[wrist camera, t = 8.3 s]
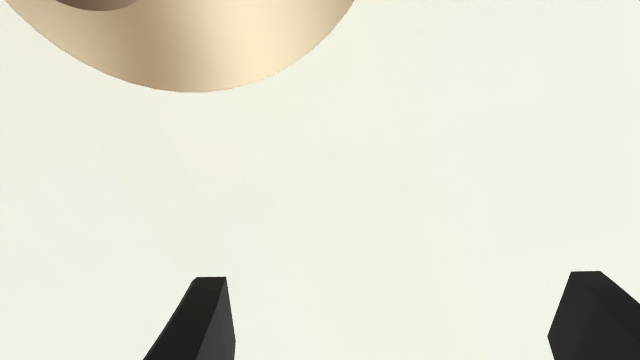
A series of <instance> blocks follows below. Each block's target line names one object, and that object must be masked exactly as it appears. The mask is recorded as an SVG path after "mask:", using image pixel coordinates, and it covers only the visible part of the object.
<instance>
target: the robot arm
mask: <svg viewBox="0 0 640 360" xmlns="http://www.w3.org/2000/svg"><path fill="white" fill-rule="evenodd" d="M547 337H548V340H549V343H550V347H551V350H552V353H553V357H554V360H640V304H639V303H638V302H637V301H636V300H635V299H634V298H632V297H631V296H630V295H629V294H628V293H626V292H625V291H624V290H623V289H622V288H620V287H619V286H618V285H617V284H616V283H614V282H613V281H612V280H611V279H610V278H608V277H607V276H606V275H604V274H603V273H602V272H601V271H580V272H571V274H570V276H569V279H568V282H567V284H566V287H565V290H564V293H563V295H562V298H561V301H560V303H559V306H558V309H557V312H556V314H555V317H554V320H553V322H552V325H551V328H550V331H549V333H548V336H547ZM235 343H236V341H235V334H234V327H233V320H232V314H231V307H230V300H229V293H228V287H227V280H226V277H197V278H195V279H194V280H193V281H192V282H191V284H190V286H189V288H188V290H187V291H186V293H185V295H184V297H183V298H182V300H181V302H180V304H179V305H178V307H177V309H176V310H175V312H174V313H173V315H172V317H171V318H170V320H169V321H168V323H167V325H166V326H165V328H164V329H163V331H162V332H161V334H160V335H159V337H158V338H157V340H156V341H155V343H154V344H153V346H152V347H151V349H150V350H149V352H148V353H147V355H146V356H145V358H144V359H143V360H234V354H235Z"/></svg>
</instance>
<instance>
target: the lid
mask: <svg viewBox="0 0 640 360" xmlns="http://www.w3.org/2000/svg"><path fill="white" fill-rule="evenodd" d="M5 1H6V2H7V3H8V4H9V5H10V6H11V8H12V9H13V10H14V11H15V12H16V13H17V14H19V15H20V16H21V17H22V18H23V19H24V20H25V21H26V22H27V23H28V24H29V25H31V26H32V27H33V28H34V29H35V30H36V31H37V32H39V33H40V34H41V35H43V36H44V37H45V38H46V39H48V40H49V41H50V42H52V43H53V44H54V45H56V46H57V47H58V48H60V49H61V50H63V51H65V52H66V53H68V54H70V55H71V56H73V57H74V58H76V59H78V60H79V61H81V62H83V63H85V64H87V65H89V66H91V67H93V68H95V69H97V70H99V71H101V72H103V73H105V74H107V75H110V76H113V77H116V78H118V79H121V80H124V81H127V82H130V83H133V84H137V85H141V86H145V87H149V88H153V89H159V90H167V91H175V92H211V91H220V90H228V89H232V88H236V87H240V86H244V85H248V84H252V83H254V82H257V81H259V80H262V79H264V78H267V77H270V76H272V75H274V74H276V73H278V72H279V71H281V70H283V69H285V68H287V67H289V66H290V65H292V64H294V63H295V62H297V61H298V60H299V59H301V58H302V57H303V56H305V55H306V54H307V53H309V52H310V51H311V50H313V49H314V48H315V47H316V46H317V45H318V44H319V43H320V42H321V41H322V40H323V39H324V38H325V37H326V36H327V35H328V34H329V33H330V32H331V31H332V30H333V29H334V28H335V26H336V25H337V24H338V23H339V21H340V20H341V19H342V18H343V16H344V15H345V14H346V13H347V11H348V10H349V8H350V6H351V5H352V3H353V1H354V0H5Z"/></svg>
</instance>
